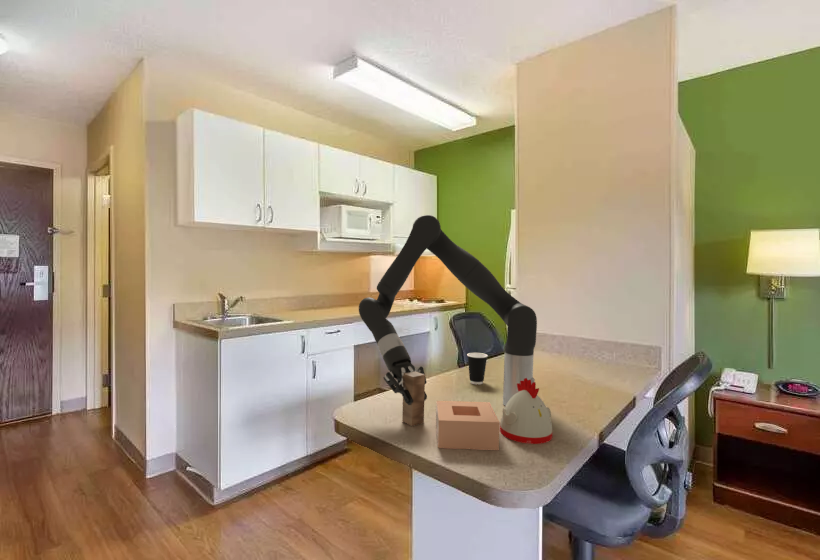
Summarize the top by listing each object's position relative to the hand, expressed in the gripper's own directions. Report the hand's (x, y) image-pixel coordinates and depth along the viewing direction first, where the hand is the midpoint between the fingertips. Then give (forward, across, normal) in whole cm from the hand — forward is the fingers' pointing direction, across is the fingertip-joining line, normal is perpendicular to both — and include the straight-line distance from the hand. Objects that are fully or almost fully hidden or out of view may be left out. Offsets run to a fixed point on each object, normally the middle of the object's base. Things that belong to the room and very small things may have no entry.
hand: (417, 401), depth 118 cm
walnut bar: (+3, 0, +6) cm, 7 cm away
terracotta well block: (+14, +5, -5) cm, 16 cm away
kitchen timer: (+20, +20, -11) cm, 31 cm away
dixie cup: (-9, +46, +18) cm, 50 cm away
